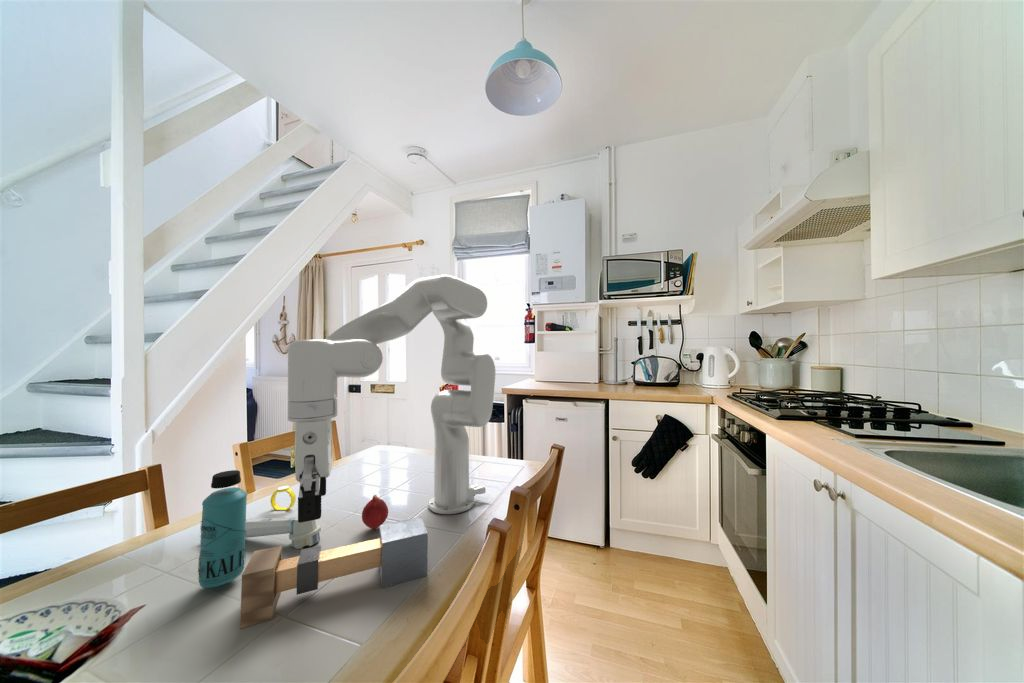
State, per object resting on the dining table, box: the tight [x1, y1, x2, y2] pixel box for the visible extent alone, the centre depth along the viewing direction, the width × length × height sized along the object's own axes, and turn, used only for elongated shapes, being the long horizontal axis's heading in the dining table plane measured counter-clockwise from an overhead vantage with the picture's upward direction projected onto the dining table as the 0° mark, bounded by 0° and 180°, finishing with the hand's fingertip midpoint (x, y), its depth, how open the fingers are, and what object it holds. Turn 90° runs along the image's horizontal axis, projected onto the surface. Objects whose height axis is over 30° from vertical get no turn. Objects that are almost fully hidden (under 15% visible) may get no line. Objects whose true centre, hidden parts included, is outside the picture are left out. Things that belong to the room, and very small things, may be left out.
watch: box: [270, 485, 296, 511], centre depth 90 cm, size 6×3×6 cm, turn 89°
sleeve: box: [378, 516, 429, 589], centre depth 64 cm, size 8×7×8 cm
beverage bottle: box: [197, 469, 248, 589], centre depth 60 cm, size 6×7×20 cm
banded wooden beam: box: [274, 537, 382, 596], centre depth 58 cm, size 19×5×5 cm, turn 115°
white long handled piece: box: [245, 516, 322, 550], centre depth 74 cm, size 5×7×25 cm
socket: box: [239, 544, 283, 629], centre depth 54 cm, size 4×7×8 cm, turn 25°
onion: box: [361, 494, 389, 530], centre depth 79 cm, size 6×6×8 cm
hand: (313, 507), depth 58 cm, fingers open, 9 cm apart
